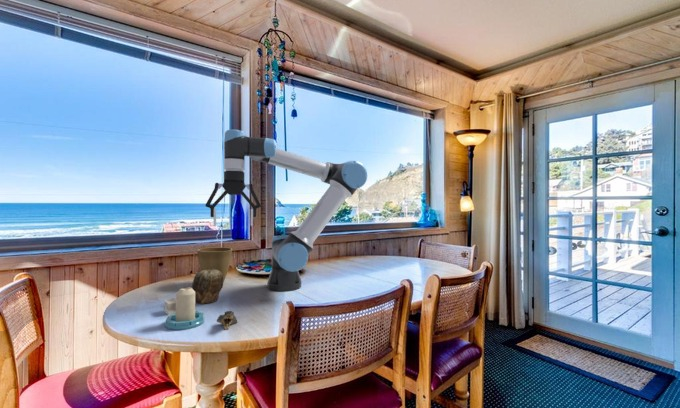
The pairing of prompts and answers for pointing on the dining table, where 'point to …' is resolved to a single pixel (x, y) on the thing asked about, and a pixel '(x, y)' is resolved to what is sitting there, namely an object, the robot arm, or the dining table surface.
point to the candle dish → (184, 322)
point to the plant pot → (215, 259)
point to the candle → (185, 304)
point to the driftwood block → (170, 306)
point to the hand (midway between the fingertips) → (233, 225)
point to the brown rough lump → (207, 286)
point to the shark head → (227, 319)
